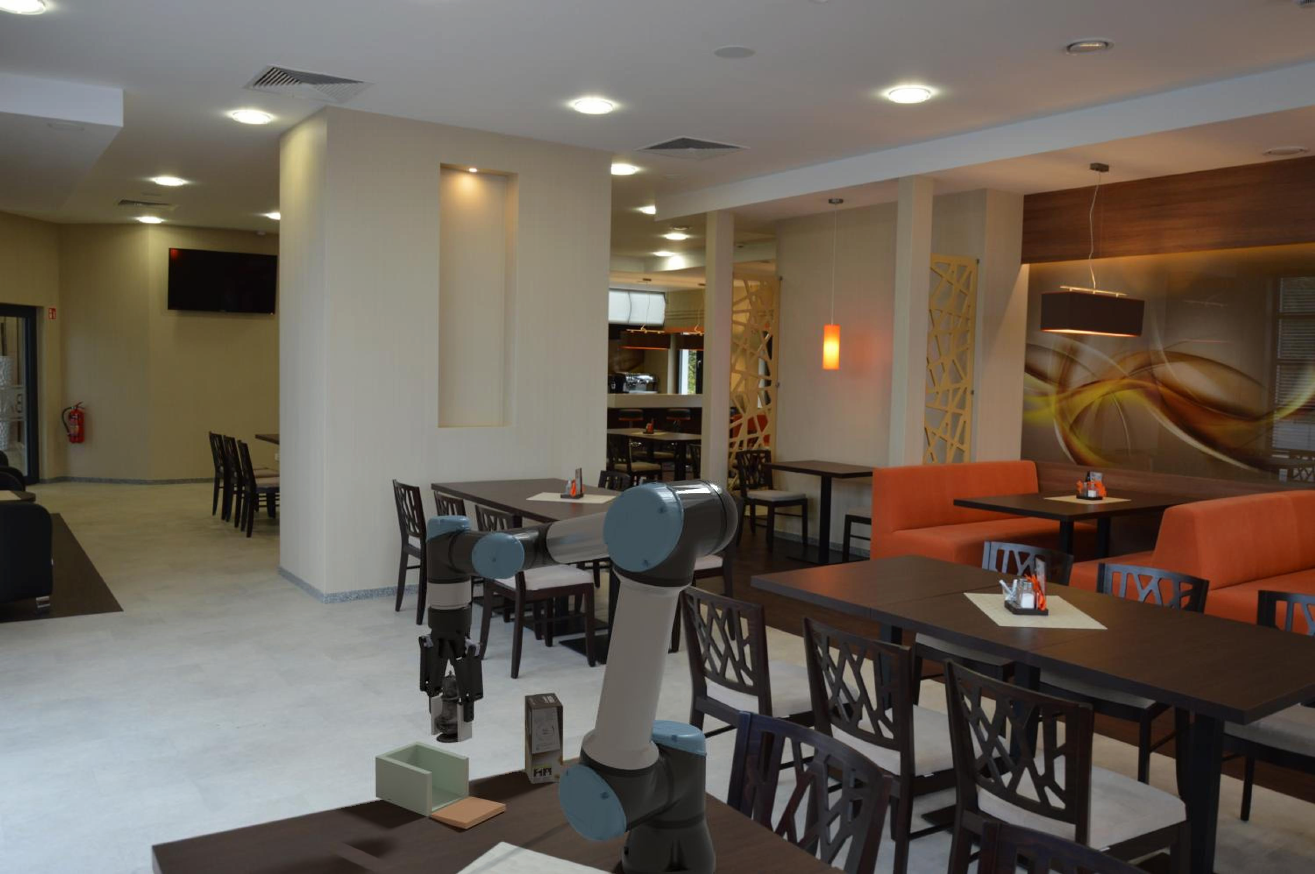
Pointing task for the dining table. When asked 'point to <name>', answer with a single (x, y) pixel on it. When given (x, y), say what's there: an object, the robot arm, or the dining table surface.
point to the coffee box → (543, 738)
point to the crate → (422, 777)
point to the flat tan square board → (468, 812)
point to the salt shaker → (448, 711)
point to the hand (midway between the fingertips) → (451, 735)
